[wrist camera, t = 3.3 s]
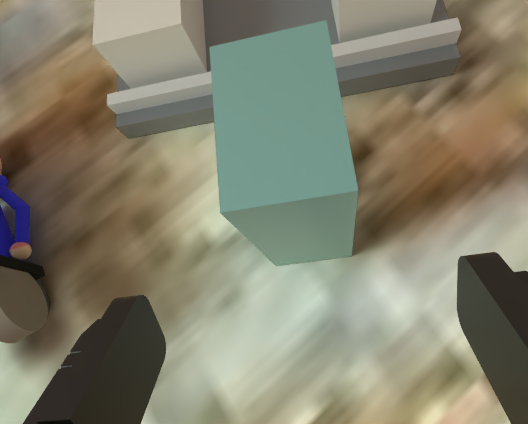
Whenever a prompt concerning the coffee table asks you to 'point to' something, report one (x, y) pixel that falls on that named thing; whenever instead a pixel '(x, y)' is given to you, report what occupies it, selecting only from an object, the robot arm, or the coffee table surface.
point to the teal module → (284, 145)
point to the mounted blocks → (193, 33)
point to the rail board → (281, 18)
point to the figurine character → (19, 274)
